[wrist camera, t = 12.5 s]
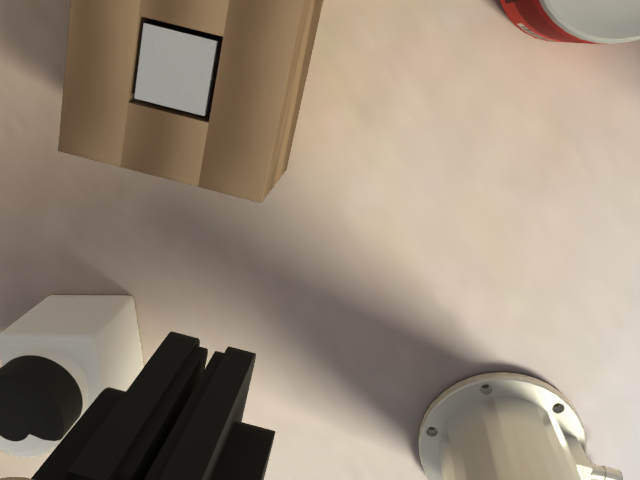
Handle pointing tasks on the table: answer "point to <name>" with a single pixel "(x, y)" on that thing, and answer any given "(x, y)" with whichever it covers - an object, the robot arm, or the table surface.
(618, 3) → the canned food
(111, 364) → the medicine bottle
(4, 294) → the table surface
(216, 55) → the pin
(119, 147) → the walnut block
